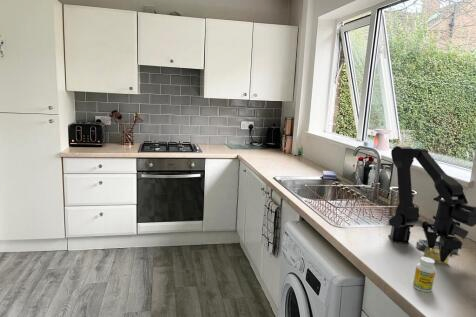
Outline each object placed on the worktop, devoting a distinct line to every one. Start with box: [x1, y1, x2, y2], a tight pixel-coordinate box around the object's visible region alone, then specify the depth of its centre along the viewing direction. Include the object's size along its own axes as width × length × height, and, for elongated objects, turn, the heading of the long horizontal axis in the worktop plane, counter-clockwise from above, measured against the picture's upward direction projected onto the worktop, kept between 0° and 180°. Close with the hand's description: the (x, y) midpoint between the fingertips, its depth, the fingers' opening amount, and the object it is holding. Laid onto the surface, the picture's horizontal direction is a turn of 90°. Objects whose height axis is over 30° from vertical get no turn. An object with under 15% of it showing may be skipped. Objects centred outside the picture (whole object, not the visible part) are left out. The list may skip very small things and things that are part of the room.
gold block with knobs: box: [423, 248, 450, 264], centre depth 134 cm, size 7×4×5 cm, turn 87°
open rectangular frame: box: [415, 238, 459, 256], centre depth 143 cm, size 15×6×3 cm, turn 86°
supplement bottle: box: [412, 256, 436, 293], centre depth 112 cm, size 5×5×10 cm
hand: (436, 255), depth 134 cm, fingers open, 9 cm apart
